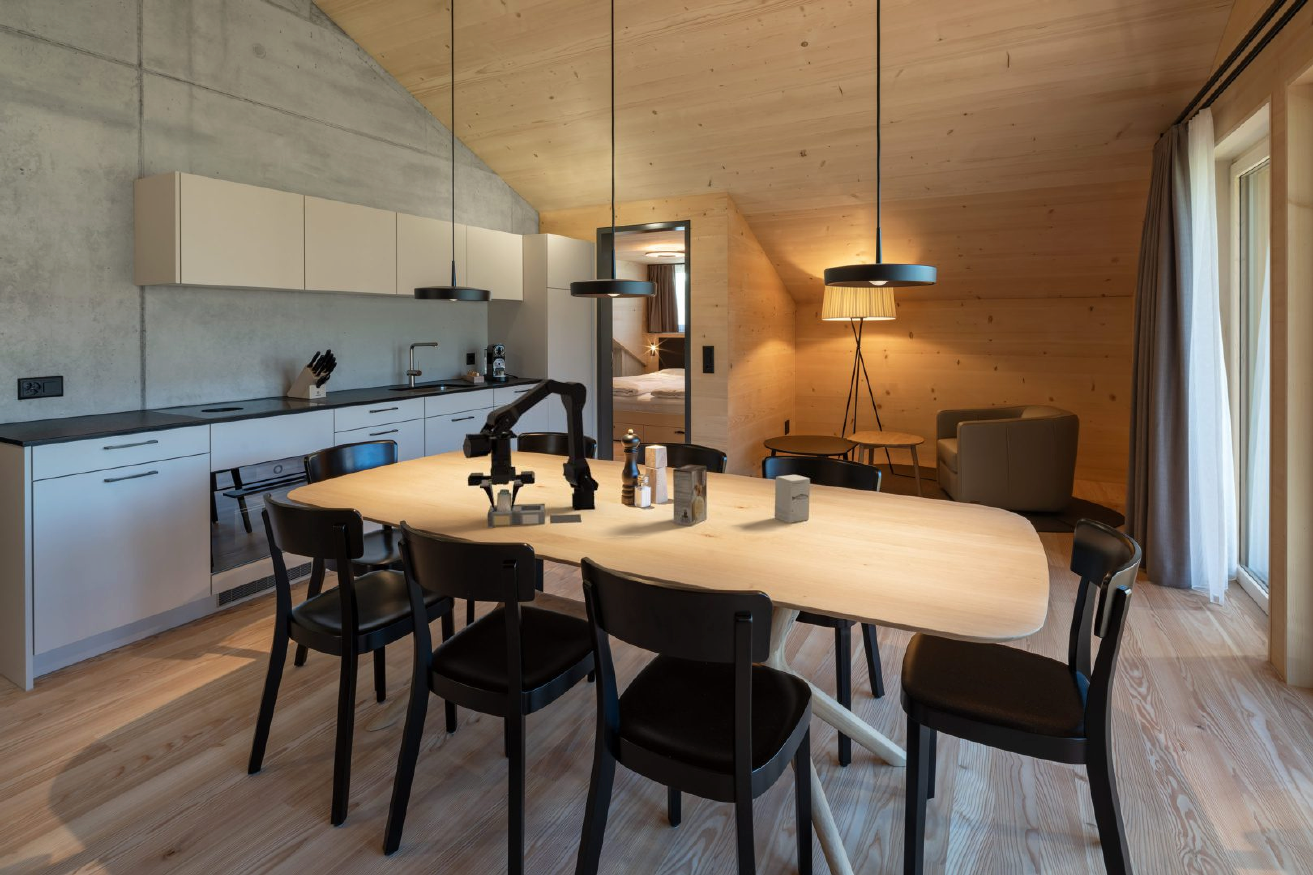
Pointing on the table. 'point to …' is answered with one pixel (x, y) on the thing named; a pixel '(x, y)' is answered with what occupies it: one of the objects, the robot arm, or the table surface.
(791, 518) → the supplement box
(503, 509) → the beige and green cylinder
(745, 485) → the table surface
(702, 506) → the coffee box
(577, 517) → the mat
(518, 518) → the socket block
